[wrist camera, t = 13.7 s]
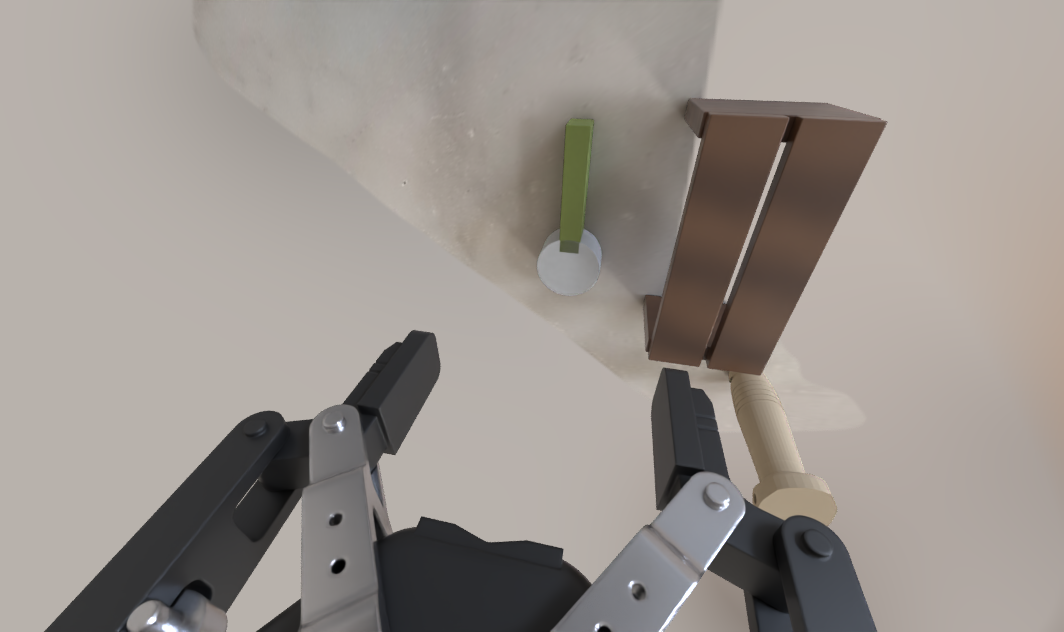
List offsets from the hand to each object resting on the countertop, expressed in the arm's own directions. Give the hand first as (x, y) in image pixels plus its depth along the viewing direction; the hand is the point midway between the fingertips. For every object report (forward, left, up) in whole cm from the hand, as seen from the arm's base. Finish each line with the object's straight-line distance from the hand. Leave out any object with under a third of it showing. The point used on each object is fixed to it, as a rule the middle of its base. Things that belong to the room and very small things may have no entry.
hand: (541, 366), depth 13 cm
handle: (+18, +18, -23) cm, 34 cm away
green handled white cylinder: (+2, -1, -23) cm, 23 cm away
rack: (+3, +11, -23) cm, 26 cm away
